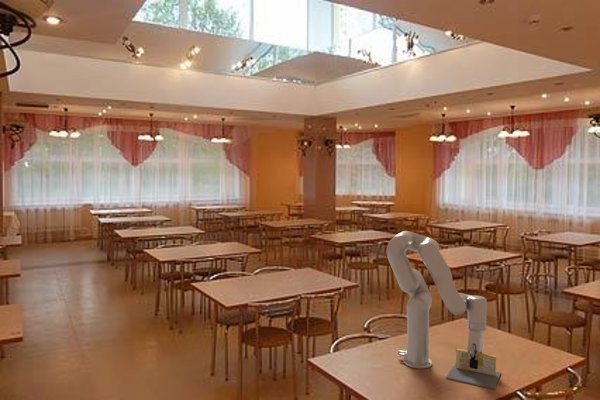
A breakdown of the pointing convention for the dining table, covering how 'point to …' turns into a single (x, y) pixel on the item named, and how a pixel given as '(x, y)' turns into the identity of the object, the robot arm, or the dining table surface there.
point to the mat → (473, 378)
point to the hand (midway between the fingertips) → (475, 364)
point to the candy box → (484, 362)
